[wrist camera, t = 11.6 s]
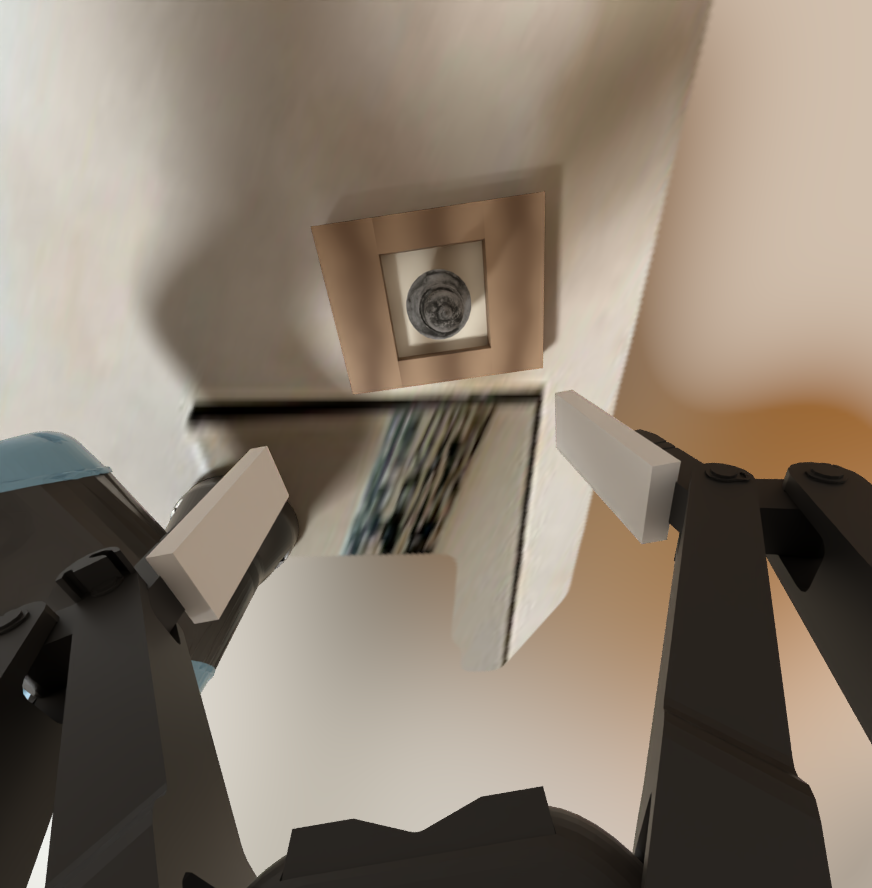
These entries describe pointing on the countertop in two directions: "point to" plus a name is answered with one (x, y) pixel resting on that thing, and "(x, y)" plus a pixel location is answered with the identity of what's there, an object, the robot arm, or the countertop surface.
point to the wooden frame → (423, 249)
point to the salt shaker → (438, 304)
